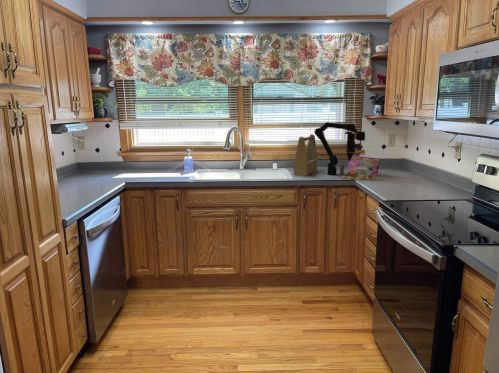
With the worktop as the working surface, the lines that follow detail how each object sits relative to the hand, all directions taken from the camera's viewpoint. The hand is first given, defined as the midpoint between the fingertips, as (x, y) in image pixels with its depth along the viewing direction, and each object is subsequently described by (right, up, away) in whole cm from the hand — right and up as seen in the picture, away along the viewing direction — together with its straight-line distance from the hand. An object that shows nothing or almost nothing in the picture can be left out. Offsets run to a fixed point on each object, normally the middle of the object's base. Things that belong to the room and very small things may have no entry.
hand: (349, 160), depth 290 cm
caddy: (-32, -9, +13) cm, 36 cm away
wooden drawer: (-2, -12, -6) cm, 14 cm away
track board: (+4, -14, -7) cm, 16 cm away
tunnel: (+7, -13, -8) cm, 17 cm away
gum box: (+13, -11, +10) cm, 20 cm away
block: (0, -11, -7) cm, 13 cm away
